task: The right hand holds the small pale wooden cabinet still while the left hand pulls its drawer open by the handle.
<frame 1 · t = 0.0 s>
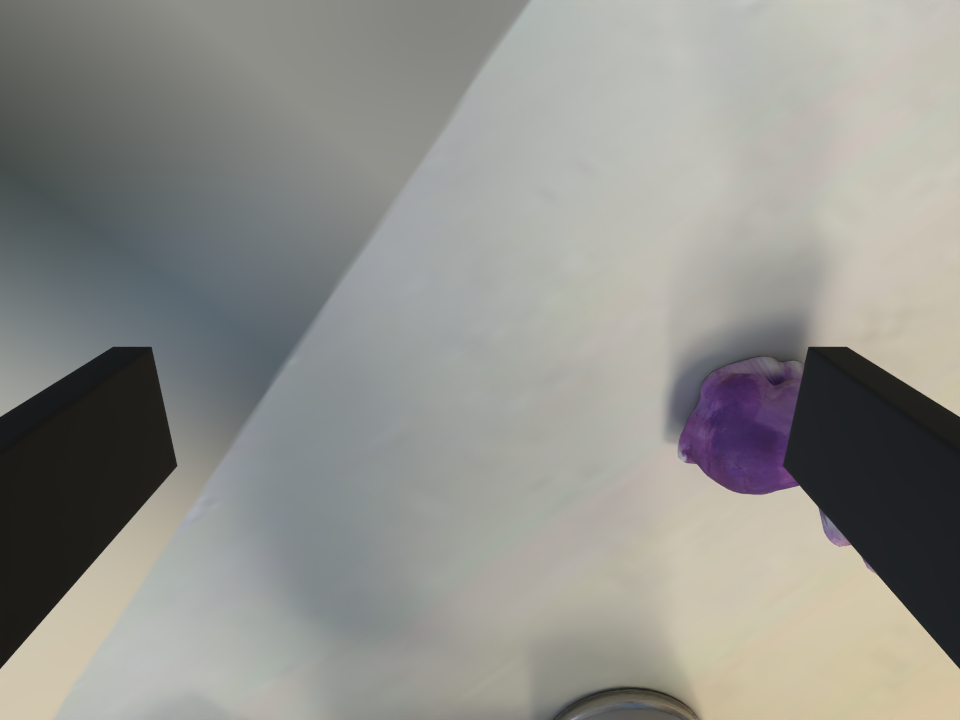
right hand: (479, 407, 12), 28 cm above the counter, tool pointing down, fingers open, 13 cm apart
figurine: (749, 399, 43), on the counter
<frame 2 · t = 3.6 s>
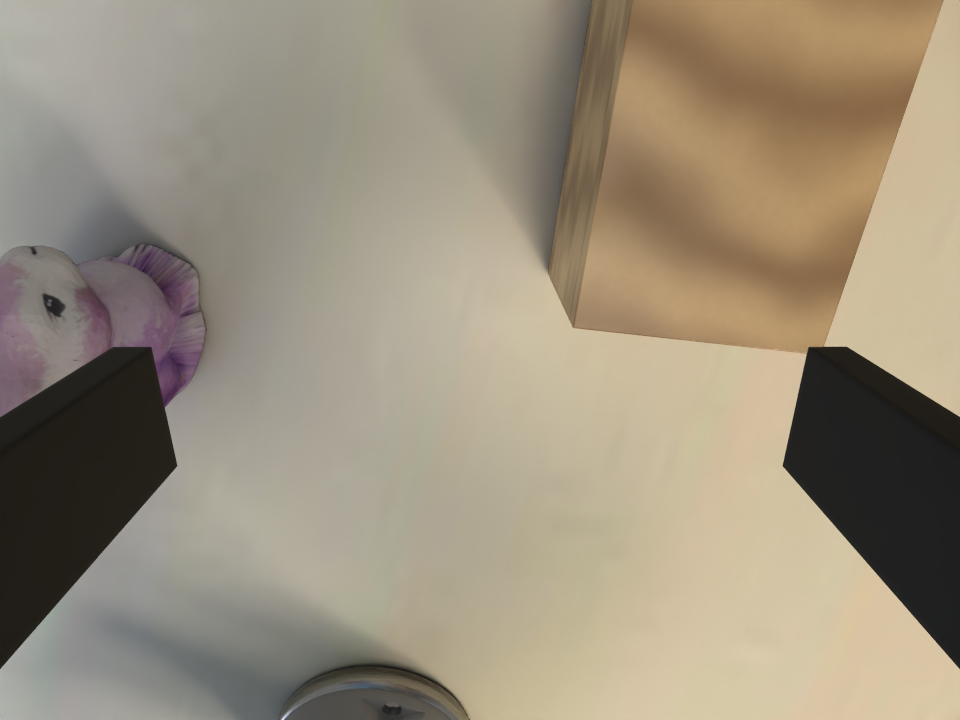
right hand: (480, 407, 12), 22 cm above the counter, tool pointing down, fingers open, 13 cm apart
figurine: (138, 313, 35), on the counter
cabinet: (683, 87, 30), on the counter
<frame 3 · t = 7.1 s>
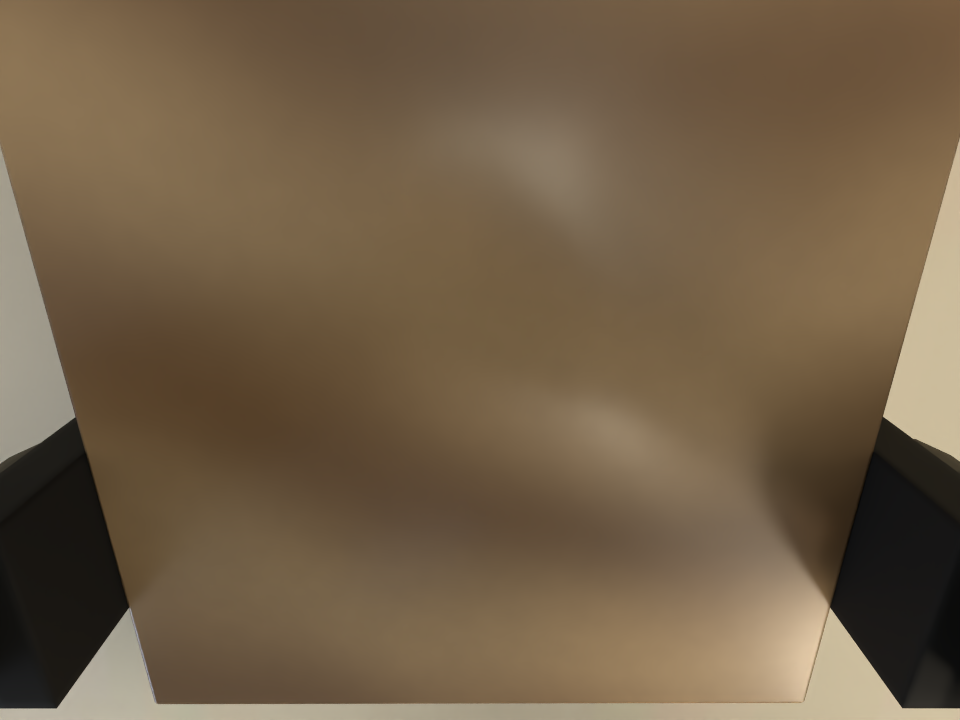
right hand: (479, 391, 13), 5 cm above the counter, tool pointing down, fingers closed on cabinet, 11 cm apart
cabinet: (479, 61, 15), on the counter, touching right hand
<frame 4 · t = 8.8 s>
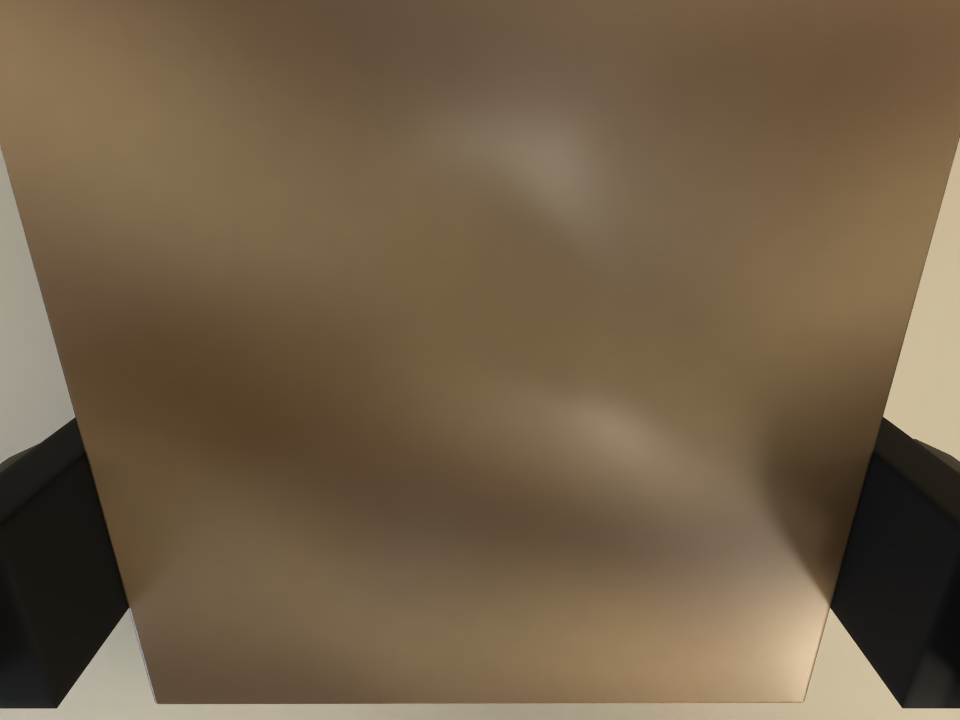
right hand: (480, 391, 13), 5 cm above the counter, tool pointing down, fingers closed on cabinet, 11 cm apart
cabinet: (479, 61, 15), on the counter, touching right hand
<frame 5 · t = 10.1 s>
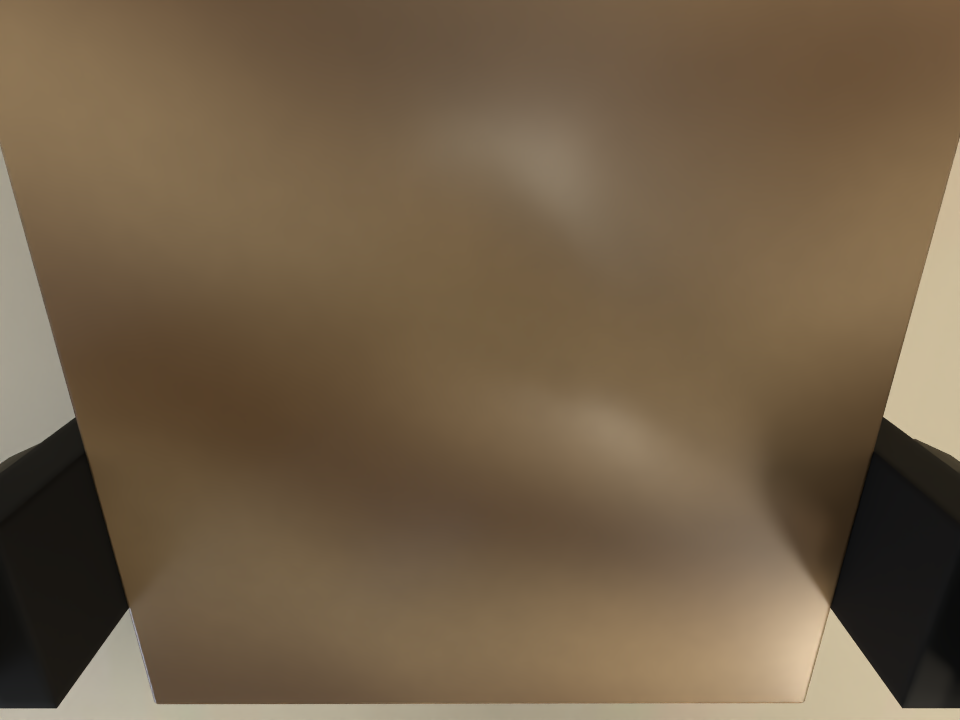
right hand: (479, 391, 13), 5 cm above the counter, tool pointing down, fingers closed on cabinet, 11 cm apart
cabinet: (479, 61, 15), on the counter, touching right hand
when the right hand's fingers open (5 cm above the counter, at t = 11.5 s): cabinet stays where it is, on the counter.
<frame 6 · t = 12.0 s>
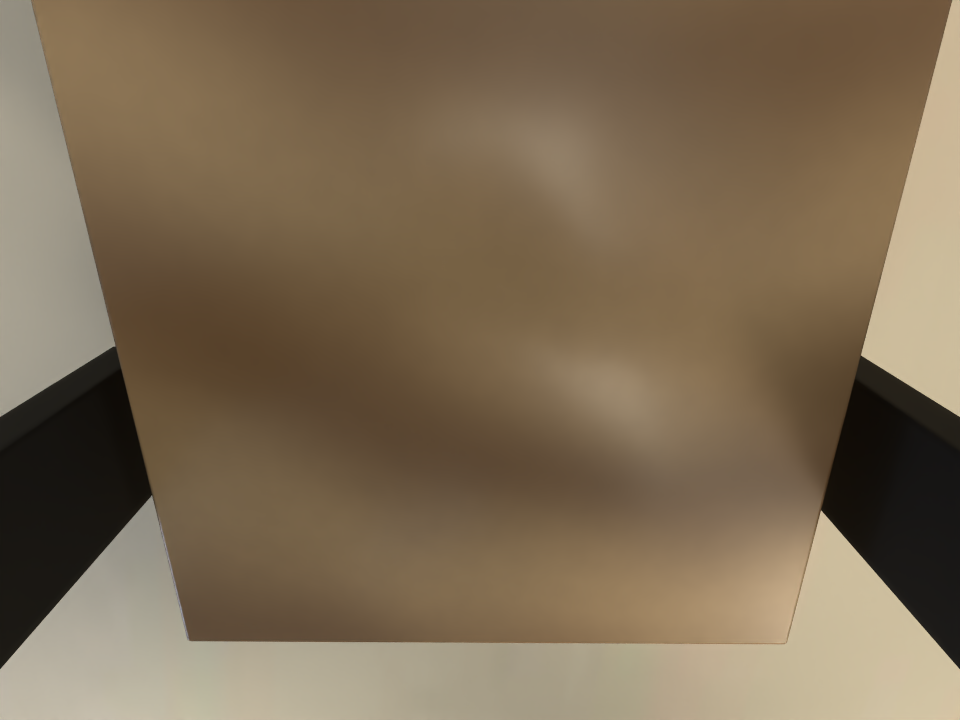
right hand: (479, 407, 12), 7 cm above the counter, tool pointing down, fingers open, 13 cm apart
cabinet: (486, 49, 16), on the counter
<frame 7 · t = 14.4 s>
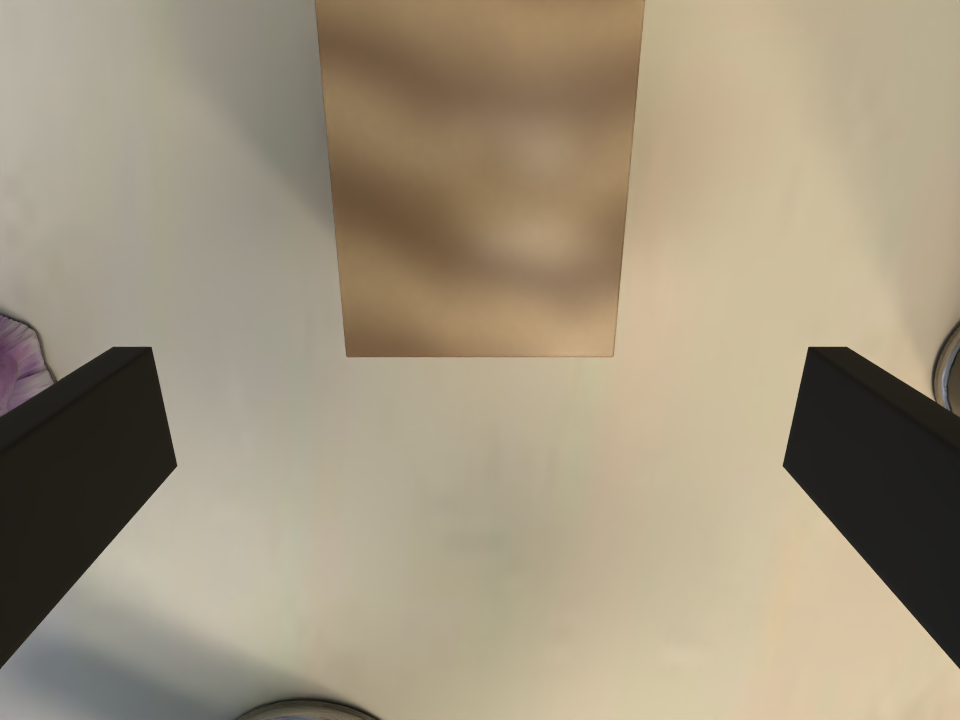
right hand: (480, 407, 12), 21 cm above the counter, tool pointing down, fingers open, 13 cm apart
cabinet: (479, 87, 29), on the counter
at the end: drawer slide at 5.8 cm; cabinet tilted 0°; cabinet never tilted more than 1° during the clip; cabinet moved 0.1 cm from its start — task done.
